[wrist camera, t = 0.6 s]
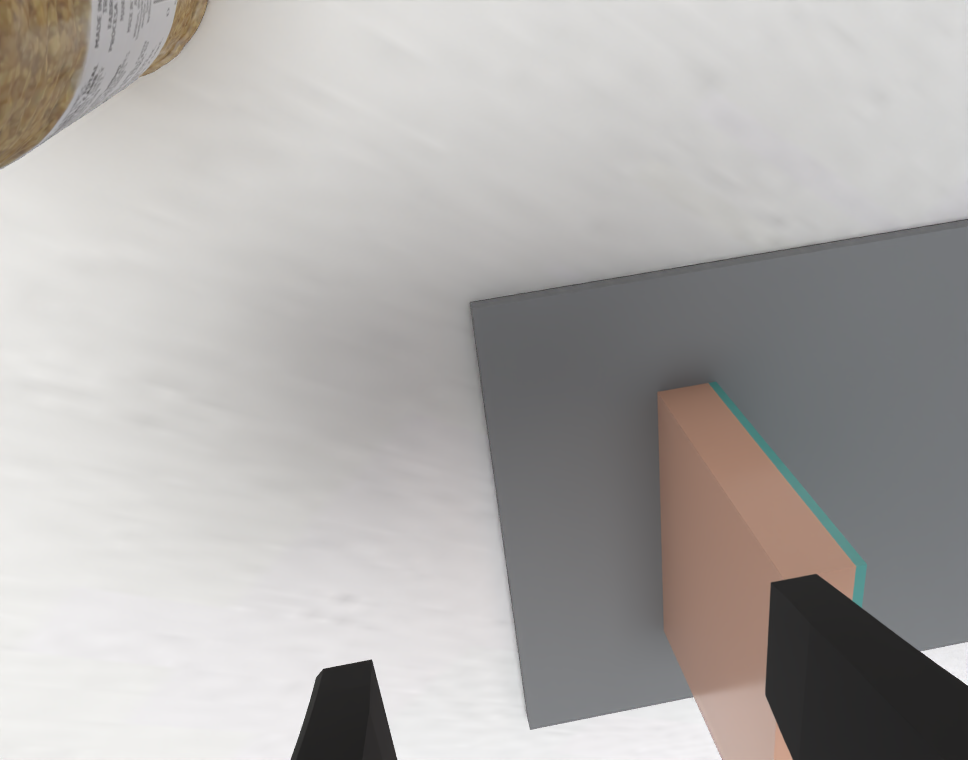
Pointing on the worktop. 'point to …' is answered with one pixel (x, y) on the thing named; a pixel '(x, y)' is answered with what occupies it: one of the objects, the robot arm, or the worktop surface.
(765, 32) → the worktop surface
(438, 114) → the worktop surface
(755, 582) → the glazed tile
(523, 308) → the rubber mat
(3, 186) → the worktop surface
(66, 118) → the tan and white cylinder
